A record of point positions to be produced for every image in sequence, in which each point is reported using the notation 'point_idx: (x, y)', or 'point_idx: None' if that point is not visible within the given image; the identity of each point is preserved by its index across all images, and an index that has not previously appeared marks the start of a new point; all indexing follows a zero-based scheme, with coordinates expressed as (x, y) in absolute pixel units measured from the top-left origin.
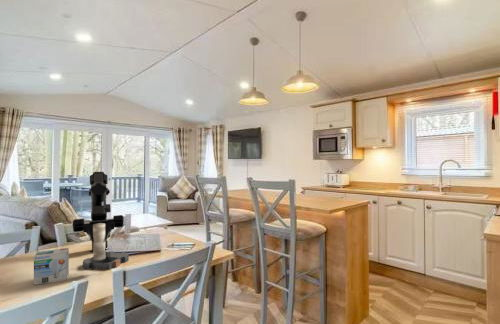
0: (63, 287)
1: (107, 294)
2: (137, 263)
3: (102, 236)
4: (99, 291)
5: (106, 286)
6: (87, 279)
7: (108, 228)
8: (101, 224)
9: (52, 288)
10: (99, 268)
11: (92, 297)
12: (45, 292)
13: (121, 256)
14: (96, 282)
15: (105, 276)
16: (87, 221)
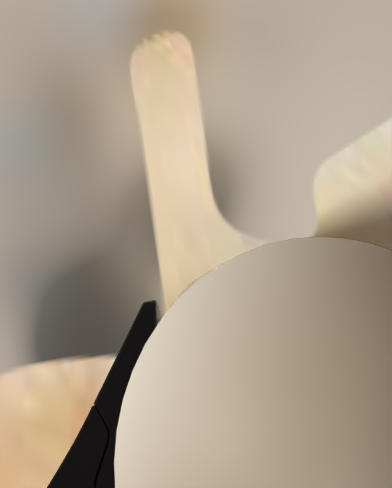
0: (321, 180)
1: (134, 59)
2: (17, 392)
3: (188, 286)
4: (168, 94)
5: (148, 132)
6: (244, 237)
7: (83, 471)
8: (244, 420)
9: (362, 185)
10: None
11: (185, 53)
12: (373, 154)
13: None
14: (197, 188)
15: (169, 247)
16: None
